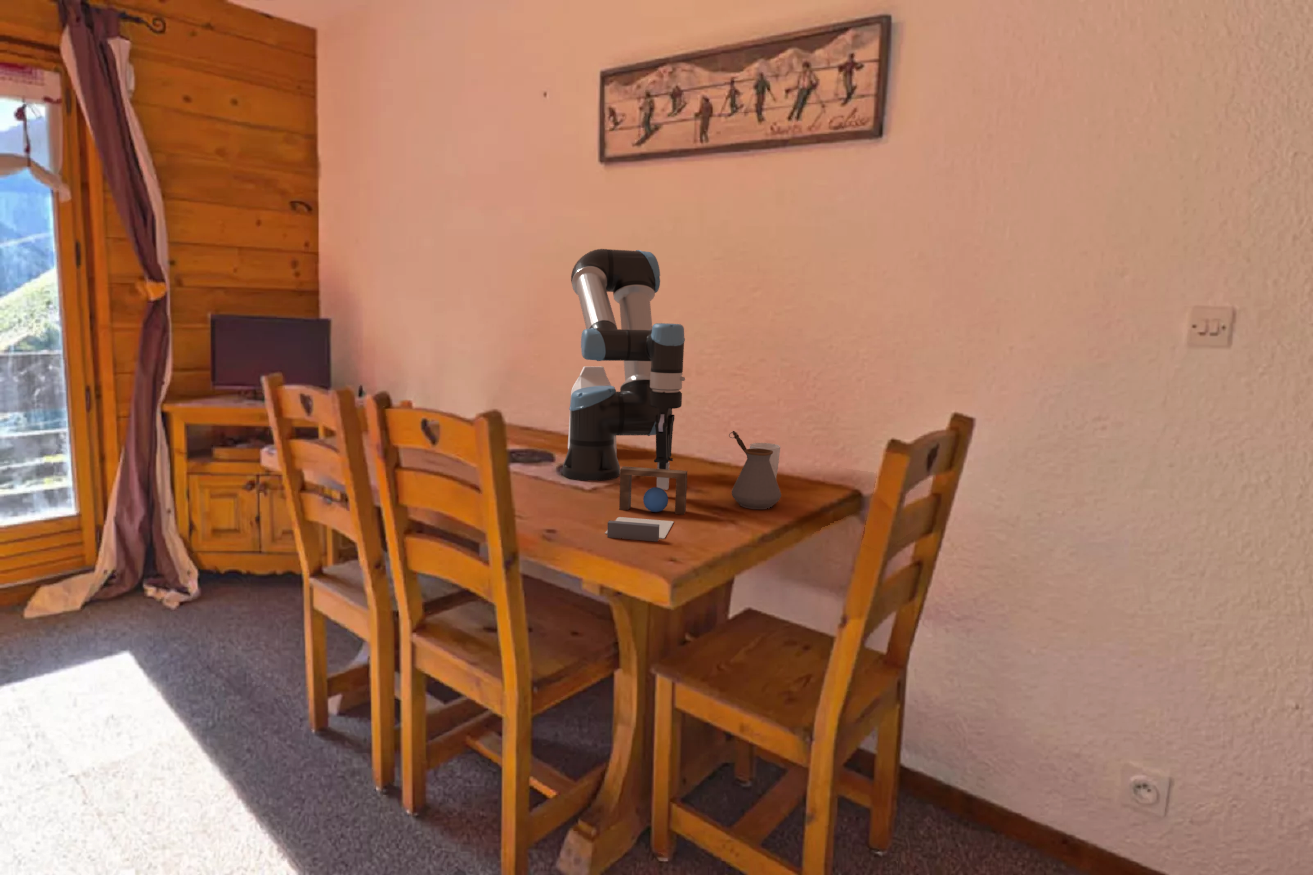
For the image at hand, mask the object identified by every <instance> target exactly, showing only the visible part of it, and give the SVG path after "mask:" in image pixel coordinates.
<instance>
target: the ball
mask: <svg viewBox="0 0 1313 875" xmlns="http://www.w3.org/2000/svg"><path fill="white" fill-rule="evenodd" d="M642 499H643V504H644V507H645V508H646V509H647V510H648V511H649V512H651V513H652V512H653V513H658V512H659V513H660V512H662V511H664V510H665V509H666V507H667V506H668V503H669V495H668V493H667V492H666V491H665V490H664V489H661V488H658V487H657V486H653V487H651V488H648V489H647V490H646V491H645V492H644V495H643V498H642Z"/></svg>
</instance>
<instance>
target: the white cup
mask: <svg viewBox="0 0 1313 875" xmlns="http://www.w3.org/2000/svg"><path fill="white" fill-rule="evenodd" d="M753 448H757V449H767V450H772V451H773V454H771V456H770V459H769V461H770V464H771V467H772V470H773V472H774V475H775V478H776V479H777V474H778V470H779V463H780V453H781V445H779V444H776V443H770V442H752V443H750V444H749V449H753Z"/></svg>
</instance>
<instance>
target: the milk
mask: <svg viewBox="0 0 1313 875" xmlns="http://www.w3.org/2000/svg"><path fill="white" fill-rule="evenodd" d="M593 386H612V384H611V382H610V379H609V378H608V376H607V373H606V371H605V368H604V366H582V369H581V371H580V373H579V376H578V377H577V379H576V380H575V382H574V384H573V385H572V388H571V391H570V396H571V395H572V393H573V392H574V391H576V390H578V389H581V388H586V387H593ZM569 446H570V418H569V420H568V439H567V450H568V449H569ZM614 449H615V452H616V455H618V450H617V435H616V436H614Z"/></svg>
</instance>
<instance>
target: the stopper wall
mask: <svg viewBox="0 0 1313 875" xmlns="http://www.w3.org/2000/svg"><path fill="white" fill-rule="evenodd" d="M606 528H607V530H606V531H607V534H606V537H607V538H610V539H612V538H613V539H621V538H622V540H623V539H624V540H633V541H634V540H635V541H645V542H659V540H660V539H659V524H647V523H635V522H623V521H615V520H608V522H607V527H606Z"/></svg>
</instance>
